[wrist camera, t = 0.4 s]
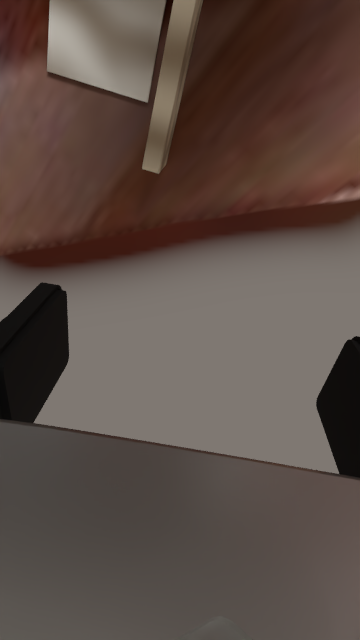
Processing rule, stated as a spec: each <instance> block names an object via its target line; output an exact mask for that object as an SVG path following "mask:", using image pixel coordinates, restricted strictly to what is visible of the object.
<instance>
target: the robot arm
mask: <svg viewBox="0 0 360 640" xmlns="http://www.w3.org/2000/svg"><path fill="white" fill-rule="evenodd" d="M68 359H69V343H68V316H67V294H66V291H63V290H62V289H61V287H60V286H59V285H54V284H48V283H40V284H39V285H38V286H37V287H36V288H35V289H34V290H33V291H32V292H31V293H30V294H29V295H28V296H27V297H26V298H25V299H24V300H23V301H22V302H21V303H20V304H19V305H18V306H17V307H16V308H15V309H14V310H13V311H12V312H11V313H10V314H9V315H8V316H7V317H6V318H4V319H3V320H2V321H1V322H0V640H360V337H357V336H356V337H354V338H352V340H347V342H346V343H345V344H344V347H343V349H342V350H341V352H340V354H339V356H338V359H337V360H336V362H335V364H334V366H333V368H332V370H331V372H330V374H329V376H328V378H327V380H326V382H325V384H324V386H323V388H322V390H321V392H320V393H319V395H318V398H317V402H316V403H317V404H316V406H317V410H318V413H319V416H320V418H321V422H322V424H323V427H324V430H325V433H326V436H327V439H328V442H329V445H330V448H331V451H332V453H333V456H334V459H335V462H336V465H337V468H338V471H339V474H335V473H329V472H323V471H318V470H312V469H307V468H301V467H294V466H289V465H284V464H278V463H272V462H267V461H260V460H254V459H249V458H243V457H237V456H231V455H225V454H219V453H214V452H208V451H201V450H195V449H190V448H184V447H178V446H172V445H165V444H160V443H154V442H147V441H142V440H135V439H129V438H123V437H117V436H111V435H105V434H99V433H92V432H86V431H80V430H73V429H68V428H61V427H55V426H48V425H41V424H35V423H33V422H34V421H35V419H36V417H37V415H38V414H39V412H40V410H41V409H42V407H43V405H44V403H45V402H46V400H47V398H48V397H49V395H50V393H51V391H52V390H53V388H54V386H55V384H56V383H57V381H58V379H59V377H60V376H61V374H62V372H63V371H64V369H65V367H66V365H67V363H68Z"/></svg>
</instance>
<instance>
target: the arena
mask: <svg viewBox="0 0 360 640" xmlns="http://www.w3.org/2000/svg"><path fill="white" fill-rule="evenodd" d="M202 3H203V0H174V1H173V6H172V11H171V17H170V22H169V27H168V32H167V38H166V43H165V48H164V54H163V59H162V64H161V70H160V75H159V80H158V86H157V91H156V96H155V102H154V107H153V112H152V117H151V123H150V128H149V133H148V139H147V144H146V149H145V155H144V160H143V165H142V169H144V170H147V171H151V172H154V173H157V174H159V173H160V172H161V170H162V169H163V168H164V167H165V166H166V164H167V159H168V155H169V150H170V146H171V141H172V137H173V133H174V128H175V124H176V119H177V115H178V110H179V106H180V101H181V97H182V92H183V88H184V83H185V79H186V74H187V70H188V66H189V61H190V57H191V52H192V48H193V43H194V39H195V34H196V30H197V25H198V21H199V16H200V12H201V7H202ZM165 6H166V0H50V8H49V33H48V58H47V71H48V72H51V73H55V74H58V75H61V76H64V77H67V78H70V79H74V80H77V81H80V82H83V83H86V84H90V85H93V86H96V87H99V88H102V89H105V90H109V91H112V92H115V93H118V94H121V95H124V96H128V97H131V98H134V99H137V100H140V101H144V102H147V103H148V100H149V95H150V89H151V84H152V78H153V72H154V67H155V61H156V56H157V50H158V45H159V39H160V33H161V28H162V22H163V17H164V11H165Z"/></svg>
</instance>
